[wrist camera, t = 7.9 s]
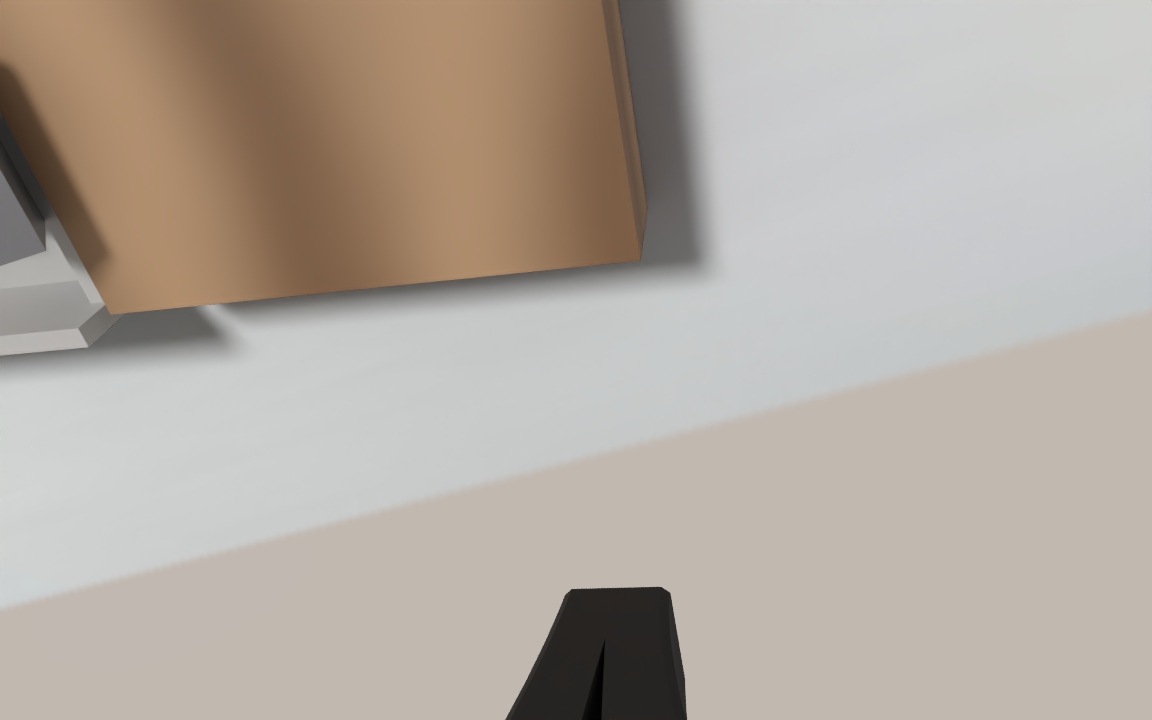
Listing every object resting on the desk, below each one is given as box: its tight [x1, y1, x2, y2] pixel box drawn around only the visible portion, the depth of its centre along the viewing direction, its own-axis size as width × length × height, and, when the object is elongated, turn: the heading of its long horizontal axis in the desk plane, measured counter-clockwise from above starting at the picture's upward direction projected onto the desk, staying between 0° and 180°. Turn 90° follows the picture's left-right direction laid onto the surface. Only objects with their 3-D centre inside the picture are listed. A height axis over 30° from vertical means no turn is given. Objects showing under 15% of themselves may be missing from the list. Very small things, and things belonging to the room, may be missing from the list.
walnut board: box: [0, 0, 647, 315], centre depth 17 cm, size 12×8×2 cm, turn 101°
